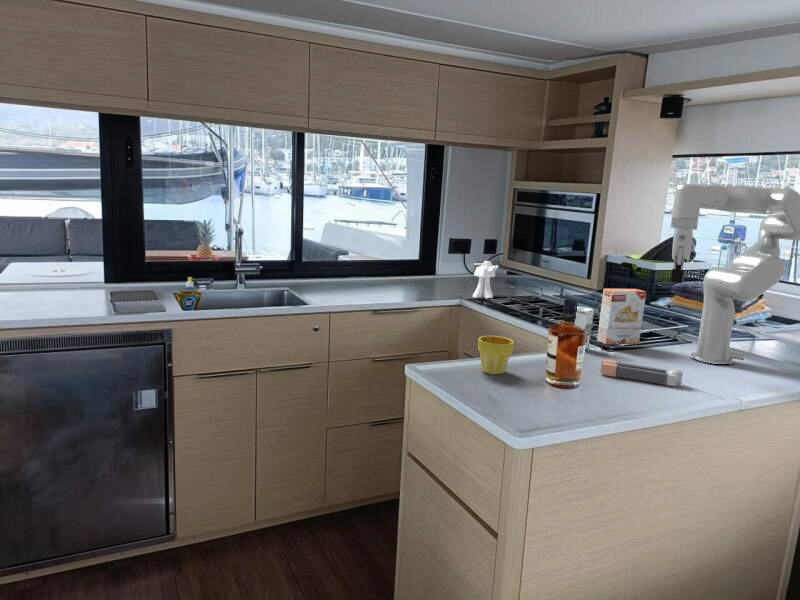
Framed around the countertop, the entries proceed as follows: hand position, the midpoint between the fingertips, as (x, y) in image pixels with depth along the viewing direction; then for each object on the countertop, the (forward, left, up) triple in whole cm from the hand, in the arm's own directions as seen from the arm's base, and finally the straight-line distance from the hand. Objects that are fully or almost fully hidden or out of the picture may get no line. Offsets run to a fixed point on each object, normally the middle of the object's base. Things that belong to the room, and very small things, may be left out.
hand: (676, 281), depth 190 cm
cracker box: (+16, -14, -27) cm, 35 cm away
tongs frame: (+6, +24, -27) cm, 37 cm away
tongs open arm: (+9, +21, -27) cm, 35 cm away
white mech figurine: (+87, -79, -27) cm, 121 cm away
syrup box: (+28, -2, -27) cm, 39 cm away
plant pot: (+46, +41, -27) cm, 67 cm away
